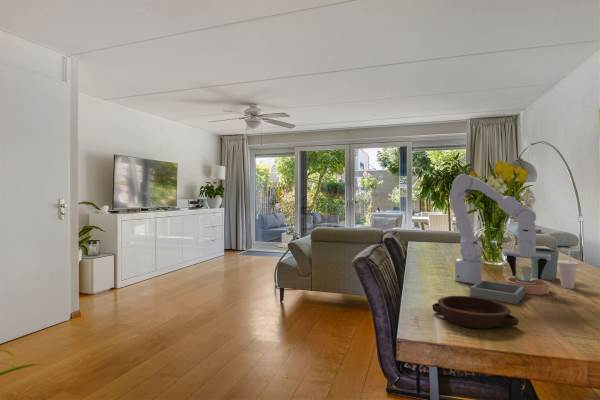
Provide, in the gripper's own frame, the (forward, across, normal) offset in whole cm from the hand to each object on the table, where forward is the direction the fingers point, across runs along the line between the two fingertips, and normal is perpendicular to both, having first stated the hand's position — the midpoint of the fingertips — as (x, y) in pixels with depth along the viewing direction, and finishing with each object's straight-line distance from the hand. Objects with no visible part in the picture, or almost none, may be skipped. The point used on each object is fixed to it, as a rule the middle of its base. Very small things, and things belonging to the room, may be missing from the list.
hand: (526, 277), depth 128 cm
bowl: (+4, 0, 0) cm, 4 cm away
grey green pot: (+5, +2, +26) cm, 26 cm away
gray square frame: (+4, -6, -16) cm, 18 cm away
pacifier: (+2, 0, -1) cm, 2 cm away
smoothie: (+5, +11, +13) cm, 18 cm away
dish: (+5, -5, -48) cm, 49 cm away
